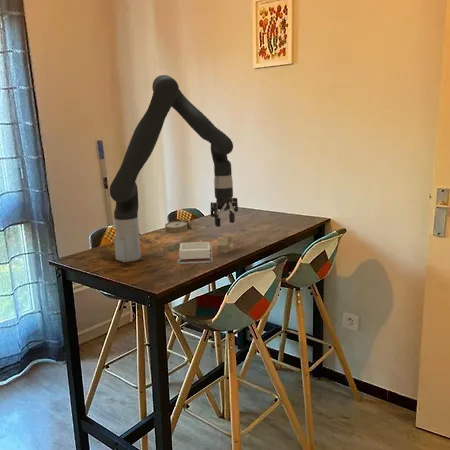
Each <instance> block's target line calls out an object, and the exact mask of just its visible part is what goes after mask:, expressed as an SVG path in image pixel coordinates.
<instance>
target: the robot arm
mask: <svg viewBox="0 0 450 450" xmlns="http://www.w3.org/2000/svg"><path fill="white" fill-rule="evenodd" d="M151 88H152V91H153V93H152V97H151V98H150V102H149V105H148V106H147V107H148V108H147V109H146V111H145V112H144V114H143V116H142V117H141V119H140V120H139V122H138V123H137V125H136V127H135V128H134V130H133V134H132V136H131V138H130V140H129V143H128V146H127V149H126V151H125V154H124V157H123V158H122V159H123V160H122V163H121V165H120V167H119V169H118V171H117V173H116V174H115V177H114V178H113V180H112V181H111V183H110V185H109V195H110V197H111V199H112V200H113V201H114V202H115V208H114V212H113V218H114V228H115V229H114V230H115V231H114V232H115V236H114V237H113V242H114V244H113V245H114V253H115V260H116V261H119V262H122V263H128V262H135V261H138V260H140V259H141V258H142V255H141V253H142V252H141V241H140V230H139V216H138V212H139V191H138V184H137V182H136V181H137V178H138V175H139V174H140V172H141V170H142V169H143V167H144V166H145V164H146V163H147V161H148V160H149V158H150V157H151V155H152V153H153V151H154V149H155V147H156V145H157V142H158V140H159V137H160V134H161V132H162V130H163V128H164V127H163V126H164V124H165V121H166V118H167V115H168V114H169V112H170V111H171V108H173V110H174V111H176V112H177V113H178V115H180V116H181V118H182V119H183V120H184V121H185V122H186V123H187V125H189V127H190V128H191V129H192V130H193V131H194V132H195V133H196V134H197V135H198V136H199V137H200V139H202V140H204V141H206V142H208V143H209V144H210V154H211V158H212V163H213V170H214V171H213V172H214V180H213V184H214V198H215V199H216V200H215V201H216V202H213V201H212V202H210V217H211V218H214V226H215V227H217V228H220V227H221V226H222V225H221V217H222V214H223V213H224V212H226V211H227V212H228V213H229V214H228V216H229V218H228V221H229V223H231V224H234V223H235V221H236V219H235V218H236V217H235V216H236V215H235V214H236V213H238V212H239V206H238V197H234V189H233V187H234V186H233V185H234V184H233V183H234V182H233V175H232V171H233V170H232V163H231V161H230V160H229V159H228V155H229V154H231V153H232V152H233V150H234V149H233V148H234V143H233V141H232V139H231V138H230V137H229V136H228V135H226V133H225V132H223V131H222V130H220V129H219V128H218V127H217V126H216V125H215V124H214V123H213V122H212V121H211V120H210V119H209V118H208V117H207V116H206V115H205V114H204V113H203V112H201V110H200V109H198V108H197V107H196V106H195V105H194V104H193V103H192V102H191V101H190V100H189V99H188V98H187V96H185V95H184V94H183V92H182V91H181V90H180V88H179V83H178V82H177V81H176V79H175V78H173V77H172V76H170V75H167V74H161V75H158V76H156V78H155V79H153V82H152V87H151Z"/></svg>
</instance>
